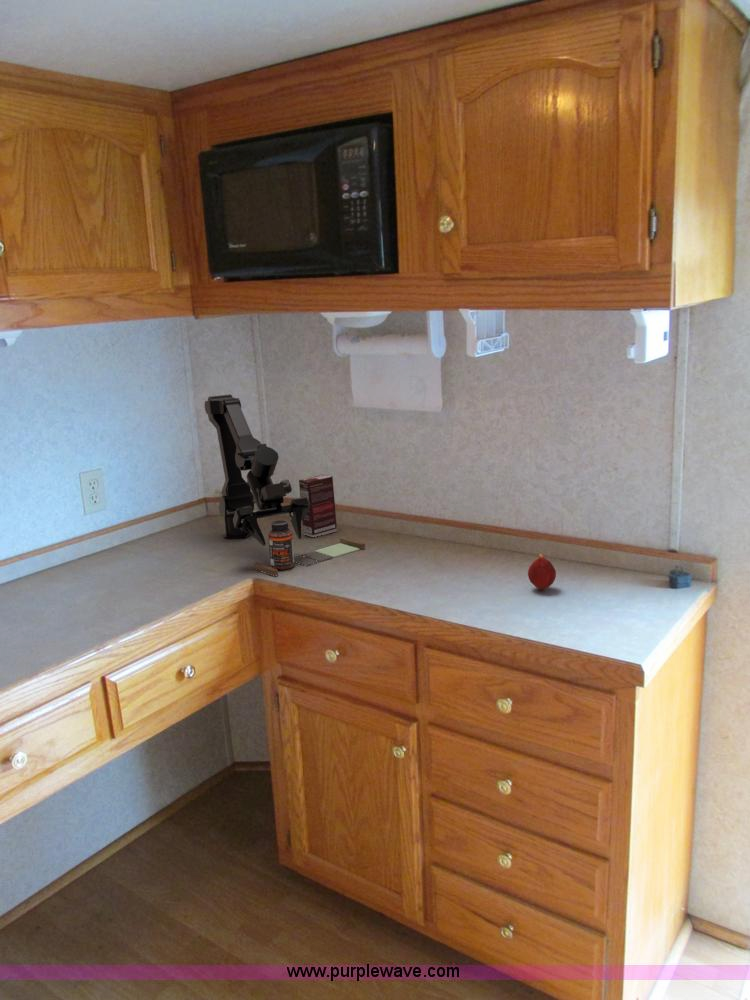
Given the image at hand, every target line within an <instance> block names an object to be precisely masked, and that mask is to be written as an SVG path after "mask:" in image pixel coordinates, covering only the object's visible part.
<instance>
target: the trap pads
mask: <svg viewBox="0 0 750 1000" xmlns="http://www.w3.org/2000/svg"><path fill="white" fill-rule="evenodd" d="M303 556H305V557H303ZM328 559H329V560H332V559H333V558H332V557H329V556H326V555H323V554H320V553H317V552H314V551H309V552H306V553H303V554H299V555H294V561H295V562H297V563H296V564H298V563H300V564H299V565H301V564H303V565H302V566H304V565H306V566H305V567H309V566H312V565H311V564H313V563H316V564H318V563H317V562H319V563H322V562H325V561H324V560H326V561H328ZM316 560H317V561H316ZM321 561H322V562H321ZM308 565H309V566H308ZM313 565H314V564H313Z"/></svg>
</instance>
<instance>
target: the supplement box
mask: <svg viewBox="0 0 750 1000" xmlns="http://www.w3.org/2000/svg"><path fill="white" fill-rule="evenodd" d="M298 485H299V498H301V497H306V498H307V499H308V500H309V502H310V507H309V510H308V512H307V515H306V516H305V517H303V519H302V520H301V523H302V528H303V529H302V531H303V534H302V535H303V536H305V535H307V536H306V537H308V536H310V537H309V538H311V537H315V538H318V537H321V535H322V536H324V535H328V534H332V533H335V532H337V531H338V526H337V524H338V523H337V515H336V502H335V490H334V489H335V488H334V479H333V476H332V475H329V474H320V475H315V476H310V477H307V478H302V479H298ZM317 536H318V537H317Z"/></svg>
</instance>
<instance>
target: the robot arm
mask: <svg viewBox="0 0 750 1000" xmlns="http://www.w3.org/2000/svg"><path fill="white" fill-rule="evenodd" d="M241 403H242V402H241V400H240V398H239V397H234V396H233V395H232V394H222V395H221V394H220V395H213V396H208V397H207V400H205V401H204V411H205V414H207V416H208V421H209V422H210V423H211V424H212V425H213V427H214V428H215V429H216V433H217V439H218V440H217V441H218V445H219V449H220V450H219V451H220V456H221V462H222V467H223V474H224V484H223V486H222V489H221V497H220V502H219V505H218V513H219V516H221V517H223V518H224V526H225V535H224V536H223V539H246V538H248V537H249V536H252V537H253V538H254V539H255V540H256V541H257V542H258V543H260V545H262V546H266V540H265V537H264V535H263V533H262V530H261V527H260V525H259V522H258V519H262V518H269V517H275V516H280V515H286V514H288V515H289V517H290V518H291V519H290V521H291V525H292V527H293V530H294V532H295V534H296V537H297V538H298V540H301V539H302V519H303V517H305V516H306V515H307V512H308V510H309V507H310V502H309V500H308V499H307V498H306V497H301V498H300V497H296V498H292V499H291V502H290V504H287V505H283V503H284V500H285V499H284V497H286V496H287V494H290V493H292V491H293V488H292V484H291V481H290V480H289V479H283V480H281V481H280V482H279V483H274V482H273V479H272V476H273V475H274V474H275V470H276V467H277V464H278V461H279V458H280V457H279V454H278V451H276V450H275V449H274V448H272V447H269V446H267V443H262V442H261V441H260V440H258V439H257V438H255V437H254V436H253V435H252V432H251V429H250V427H249V424H248V422H247V419H246V417H245V415H244V412H243V410H242V404H241ZM242 471H244V472H245V471H248V473H247V475H246V480H247V481H246V480H245V479H244V478H243V475H242ZM255 504H256V507H257V509H256V510H255Z"/></svg>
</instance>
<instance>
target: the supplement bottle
mask: <svg viewBox="0 0 750 1000" xmlns="http://www.w3.org/2000/svg"><path fill="white" fill-rule="evenodd" d="M293 534H294V533H293V531H292V530H291V529H290V528H289V522H288V520H275V521H272V522H271V530H270V531H269V532H268V533H267V536H268V548H269V549H268V550H269V562H270V567H271V568H274V569H286V570H289V569H288V568H290V569H292V568H294V566H295V564H296V563H295V561H294V557H295V551H294V550H295V548H294V535H293Z"/></svg>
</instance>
